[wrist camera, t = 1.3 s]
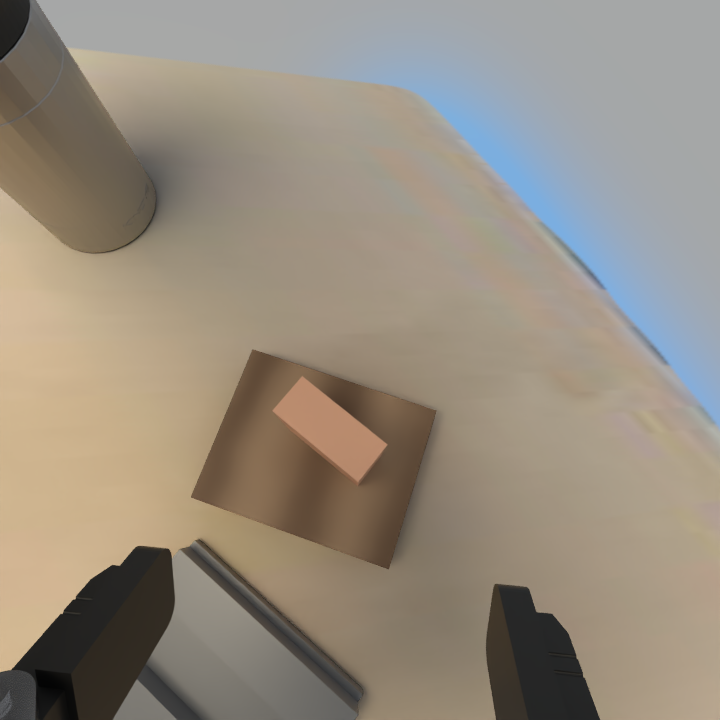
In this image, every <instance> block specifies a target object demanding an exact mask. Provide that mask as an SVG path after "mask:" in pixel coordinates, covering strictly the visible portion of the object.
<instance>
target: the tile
mask: <svg viewBox="0 0 720 720" xmlns="http://www.w3.org/2000/svg"><path fill="white" fill-rule="evenodd" d="M272 411H273V412H274V413H275V414H276V415H277V417H278V418H279V419H280V420H281V421H282V422H283V423H284V424H285V425H286V426H287V427H288V428H289V429H290V430H291V431H292V432H293V433H294V434H295V435H296V436H298V437H299V438H300V439H301V440H302V441H304V442H305V443H306V444H307V445H309V446H310V447H311V448H312V449H313V450H315V451H316V452H317V453H318V454H319V455H321V456H322V457H323V458H324V459H325V460H327V461H328V462H329V463H330V464H331V465H333V466H334V467H335V468H336V469H337V470H339V471H340V472H341V473H342V474H343V475H345V476H346V477H347V478H348V479H349V480H351V481H352V482H353V483H354V484H355V485H357V486H358V485H359V484H360V483H361V481H362V480H363V479H364V477H365V476H366V475H367V474H368V472H369V471H370V470H371V468H372V467H373V466H374V465H375V463H376V462H377V461H378V460H379V458H380V457H381V455H382V453H383V452H384V450H385V448H386V446H387V445H388V444H386V443H385V442H384V441H383V440H381V439H380V438H379V437H378V436H376V435H375V434H374V433H373V432H371V431H370V430H369V429H368V428H366V427H365V426H364V425H363V424H361V423H360V422H359V421H358V420H356V419H355V418H354V417H353V416H351V415H350V414H349V413H348V412H346V411H345V410H344V409H343V408H341V407H340V406H339V405H338V404H336V403H335V402H334V401H333V400H331V399H330V398H329V397H328V396H326V395H325V394H324V393H323V392H321V391H320V390H319V389H318V388H316V387H315V386H314V385H313V384H311V383H310V382H309V381H308V380H306V379H305V378H304V377H303V376H302V377H301V378H300V379H299V380H298V381H297V383H296V384H295V385H294V386H293V387H292V388H291V390H290V391H289V392H288V393H287V394H286V395H285V396H284V398H283V399H282V400H281V401H280V402H279V403H278V405H277V406H276V407H275V408H274V409H273V410H272Z"/></svg>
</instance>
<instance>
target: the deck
mask: <svg viewBox="0 0 720 720" xmlns="http://www.w3.org/2000/svg"><path fill="white" fill-rule="evenodd" d="M302 376H303V377H304V378H305V379H306V380H308V381H309V382H310V383H311V384H313V385H314V386H315V387H316V388H318V389H319V390H320V391H321V392H323V393H324V394H325V395H326V396H328V397H329V398H330V399H331V400H333V401H334V402H335V403H336V404H338V405H339V406H340V407H341V408H343V409H344V410H345V411H346V412H348V413H349V414H350V415H351V416H353V417H354V418H355V419H356V420H358V421H359V422H360V423H361V424H363V425H364V426H365V427H366V428H368V429H369V430H370V431H371V432H373V433H374V434H375V435H376V436H378V437H379V438H380V439H381V440H383V441H384V442H385V443H386V444H388V445H387V446H386V448H385V450H384V452H383V453H382V455H381V457H380V458H379V460H378V461H377V462H376V463H375V465H374V466H373V467H372V468H371V470H370V471H369V472H368V474H367V475H366V476H365V477H364V479H363V480H362V481H361V483H360V484H359V485H358V486H357V485H355V484H354V483H353V482H352V481H351V480H349V479H348V478H347V477H346V476H345V475H343V474H342V473H341V472H340V471H339V470H337V469H336V468H335V467H334V466H333V465H331V464H330V463H329V462H328V461H327V460H325V459H324V458H323V457H322V456H321V455H319V454H318V453H317V452H316V451H315V450H313V449H312V448H311V447H310V446H309V445H307V444H306V443H305V442H304V441H302V440H301V439H300V438H299V437H298V436H296V435H295V434H294V433H293V432H292V431H291V430H290V429H289V428H288V427H287V426H286V425H285V424H284V423H283V422H282V421H281V420H280V419H279V418H278V417H277V415H276V414H275V413H274V412H273V411H272V410H273V409H274V408H275V407H276V406H277V405H278V403H279V402H280V401H281V400H282V399H283V398H284V396H285V395H286V394H287V393H288V392H289V391H290V390H291V388H292V387H293V386H294V385H295V384H296V383H297V381H298V380H299V379H300V378H301V377H302ZM435 414H436V410H433V409H430V408H427V407H424V406H421V405H418V404H415V403H412V402H409V401H406V400H403V399H400V398H397V397H394V396H391V395H388V394H385V393H382V392H379V391H376V390H373V389H370V388H367V387H364V386H361V385H358V384H355V383H352V382H349V381H346V380H343V379H340V378H337V377H334V376H331V375H328V374H325V373H322V372H319V371H316V370H313V369H310V368H307V367H304V366H301V365H298V364H295V363H292V362H289V361H286V360H283V359H280V358H277V357H274V356H271V355H268V354H265V353H262V352H259V351H256V350H252V352H251V355H250V357H249V360H248V362H247V364H246V367H245V369H244V371H243V374H242V376H241V379H240V381H239V383H238V386H237V388H236V391H235V393H234V395H233V398H232V400H231V402H230V405H229V407H228V410H227V412H226V414H225V417H224V419H223V422H222V424H221V426H220V429H219V431H218V434H217V436H216V438H215V441H214V443H213V445H212V448H211V450H210V453H209V455H208V457H207V460H206V462H205V465H204V467H203V469H202V472H201V474H200V477H199V479H198V481H197V484H196V486H195V488H194V491H193V493H192V496H191V498H194V499H197V500H200V501H202V502H205V503H208V504H211V505H213V506H216V507H219V508H222V509H224V510H227V511H230V512H233V513H235V514H238V515H241V516H244V517H246V518H249V519H252V520H255V521H257V522H260V523H263V524H266V525H268V526H271V527H274V528H277V529H279V530H282V531H285V532H288V533H290V534H293V535H296V536H299V537H301V538H304V539H307V540H310V541H312V542H315V543H318V544H321V545H323V546H326V547H329V548H332V549H334V550H337V551H340V552H343V553H345V554H348V555H351V556H354V557H356V558H359V559H362V560H365V561H367V562H370V563H373V564H376V565H378V566H381V567H384V568H387V569H389V567H390V563H391V560H392V557H393V554H394V550H395V547H396V544H397V540H398V537H399V534H400V530H401V527H402V524H403V520H404V517H405V514H406V510H407V507H408V504H409V500H410V497H411V494H412V490H413V487H414V484H415V480H416V477H417V474H418V470H419V467H420V464H421V460H422V457H423V454H424V450H425V447H426V444H427V441H428V437H429V434H430V431H431V427H432V424H433V421H434V417H435Z"/></svg>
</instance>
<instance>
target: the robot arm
mask: <svg viewBox="0 0 720 720" xmlns="http://www.w3.org/2000/svg"><path fill="white" fill-rule="evenodd" d="M0 188H1V189H2V190H4V191H5V192H6V193H7V194H8V195H9V196H10V197H12V198H13V199H14V200H15V201H16V202H17V203H18V204H19V205H21V206H22V207H23V208H24V209H25V210H26V211H27V212H29V214H31V215H32V216H33V217H34V218H35V219H36V220H37V221H38V222H40V223H41V224H42V225H43V226H44V227H45V228H46V229H48V230H49V231H50V232H51V233H52V234H53V235H54V236H56V237H57V238H58V239H59V240H60V241H61V242H62V243H64V244H66V245H67V246H69V247H71V248H73V249H76V250H79V251H82V252H90V253H97V252H107V251H111V250H114V249H117V248H120V247H122V246H124V245H126V244H128V243H129V242H131V241H132V240H134V239H135V238H137V237H138V236H139V235H140V234H141V233H142V232H143V231H144V230H145V228H146V227H147V225H148V224H149V222H150V221H151V218H152V216H153V213H154V211H155V204H156V195H155V189H154V187H153V184H152V181H151V180H150V178H149V177H148V175H147V174H146V172H145V171H144V169H143V167H142V166H141V164H140V163H139V161H138V159H137V158H136V156H135V155H134V153H133V151H132V150H131V148H130V146H129V145H128V143H127V142H126V140H125V139H124V137H123V136H122V134H121V132H120V131H119V129H118V128H117V126H116V125H115V123H114V121H113V120H112V118H111V117H110V115H109V114H108V112H107V110H106V109H105V107H104V106H103V104H102V103H101V101H100V100H99V98H98V96H97V95H96V93H95V92H94V90H93V89H92V87H91V85H90V84H89V82H88V81H87V79H86V78H85V76H84V74H83V73H82V71H81V70H80V68H79V67H78V65H77V64H76V62H75V60H74V59H73V57H72V56H71V54H70V53H69V51H68V49H67V48H66V46H65V45H64V43H63V42H62V40H61V38H60V37H59V36H58V34H57V32H56V31H55V29H54V28H53V27H52V25H51V24H50V22H49V20H48V19H47V17H46V15H45V14H44V12H43V11H42V9H41V8H40V6H39V4H38V3H37V1H36V0H0ZM174 606H175V590H174V579H173V567H172V556H171V552H170V550H169V549H166V548H156V547H147V546H137V547H136V548H135V549H134V550H133V551H132V552H131V553H130V554H129V556H128V557H127V558H126V559H125V560H124V562H123V563H122V564H121V565H120V566H116V565H112V566H110V567H109V568H107V569H106V570H104V571H103V572H101V573H100V574H98V575H97V576H95V577H94V578H92V579H91V580H90V581H89V582H88V583H87V584H86V586H85V587H84V588H83V589H82V590H81V591H80V592H79V594H78V595H77V596H76V599H75V600H72V602H71V603H70V604H69V605H68V606H67V607H66V608H65V610H64V612H63V614H60V615H59V616H58V618H57V619H56V620H55V621H54V622H53V623H52V624H51V625H50V627H49V628H48V629H47V630H46V631H45V632H44V633H43V635H42V636H41V637H40V638H39V639H38V640H37V641H36V643H35V644H34V645H33V646H32V647H31V648H30V649H29V651H28V652H27V653H26V654H25V655H24V656H23V657H22V659H21V660H20V661H19V662H18V663H17V664H16V665H15V667H14V668H13V669H12V670H9V671H4V672H0V720H113V718H114V717H115V715H116V713H117V712H118V710H119V708H120V707H121V705H122V703H123V701H124V700H125V698H126V696H127V695H128V693H129V691H130V690H131V688H132V686H133V685H134V683H135V681H136V680H137V678H138V676H139V674H140V673H141V671H142V669H143V668H144V666H145V664H146V663H147V661H148V659H149V658H150V656H151V654H152V653H153V651H154V649H155V647H156V646H157V644H158V642H159V641H160V639H161V637H162V636H163V634H164V632H165V631H166V629H167V627H168V625H169V623H170V621H171V618H172V615H173V611H174ZM486 656H487V666H488V672H489V678H490V684H491V690H492V697H493V703H494V709H495V715H496V720H600V718H599V716H598V713H597V710H596V707H595V705H594V702H593V699H592V697H591V694H590V691H589V688H588V686H587V683H586V680H585V678H583V672H582V669H581V667H580V664H579V661H578V659H576V653H575V650H574V648H573V645H572V642H571V640H570V637H569V634H568V633H567V631H566V630H565V629H564V628H563V627H562V625H561V624H560V623H559V622H558V620H557V619H556V618H555V617H554V616H553V614H548V613H538V612H536V610H535V607H534V604H533V600H532V597H531V594H530V591H529V589H528V588H527V587H520V586H511V585H501V584H495V585H494V589H493V595H492V602H491V609H490V616H489V623H488V630H487V638H486Z"/></svg>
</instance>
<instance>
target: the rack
mask: <svg viewBox="0 0 720 720" xmlns="http://www.w3.org/2000/svg"><path fill="white" fill-rule="evenodd" d="M172 567H173V579H174V590H175V606H174V611H173V615H172V618H171V621H170V623H169V625H168V627H167V629H166V631H165V632H164V634H163V636H162V637H161V639H160V641H159V642H158V644H157V646H156V647H155V649H154V651H153V653H152V654H151V656H150V658H149V659H148V661H147V663H146V664H145V666H144V668H143V669H142V671H141V673H140V674H139V676H138V678H137V680H136V681H135V683H134V685H133V686H132V688H131V690H130V691H129V693H128V695H127V696H126V698H125V700H124V701H123V703H122V705H121V707H120V708H119V710H118V712H117V713H116V715H115V717H114V718H113V720H355V719H356V717H357V716H358V701H359V700H360V698H361V697H362V695H363V689H362V688H361V687H360V686H359V685H358V684H356V683H355V682H354V681H353V680H352V679H351V678H350V677H349V676H348V675H347V674H346V673H344V672H343V671H342V670H341V669H340V668H339V667H338V666H337V665H336V664H335V663H333V662H332V661H331V660H330V659H329V658H328V657H327V656H326V655H325V654H324V653H323V652H321V651H320V650H319V649H318V648H317V647H316V646H315V645H314V644H313V643H312V642H311V641H309V640H308V639H307V638H306V637H305V636H304V635H303V634H302V633H301V632H300V631H299V630H297V629H296V628H295V627H294V626H293V625H292V624H291V623H290V622H289V621H288V620H286V619H285V618H284V617H283V616H282V615H281V614H280V613H279V612H278V611H277V610H276V609H274V608H273V607H272V606H271V605H270V604H269V603H268V602H267V601H266V600H265V599H264V598H262V597H261V596H260V595H259V594H258V593H257V592H256V591H255V590H254V589H253V588H252V587H250V586H249V585H248V584H247V583H246V582H245V581H244V580H243V579H242V578H241V577H240V576H238V575H237V574H236V573H235V572H234V571H233V570H232V569H231V568H230V567H229V566H227V565H226V564H225V563H224V562H223V561H222V560H221V559H220V558H219V557H218V556H217V555H215V554H214V553H213V552H212V551H211V550H210V549H209V548H208V547H207V546H206V545H205V544H203V543H202V542H201V541H200V540H195V541H194V542H193V543H192V544H191V545H190V547H186V548H182V549H180V550H179V551H178V552H177V553H176V554H175V555H174V557H173V558H172Z"/></svg>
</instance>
